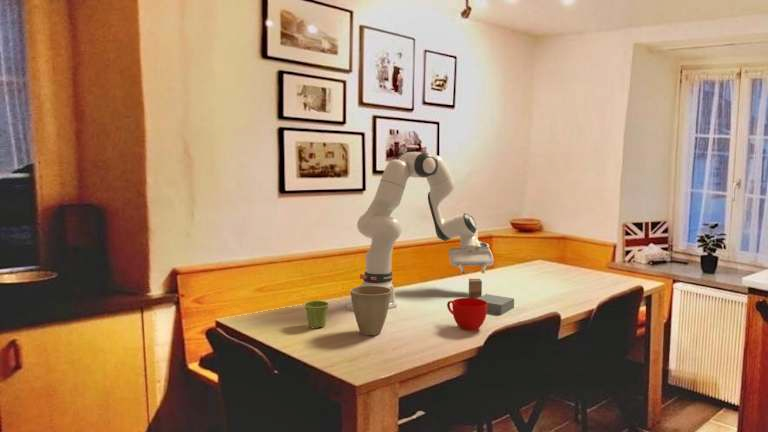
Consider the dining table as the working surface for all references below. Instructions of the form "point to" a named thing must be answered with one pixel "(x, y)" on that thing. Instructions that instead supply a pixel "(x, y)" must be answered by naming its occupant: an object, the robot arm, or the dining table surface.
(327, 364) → the dining table surface
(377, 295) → the plant pot
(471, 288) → the walnut post
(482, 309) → the ceramic cup
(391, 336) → the dining table surface
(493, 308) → the charcoal plinth
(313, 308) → the plant pot
